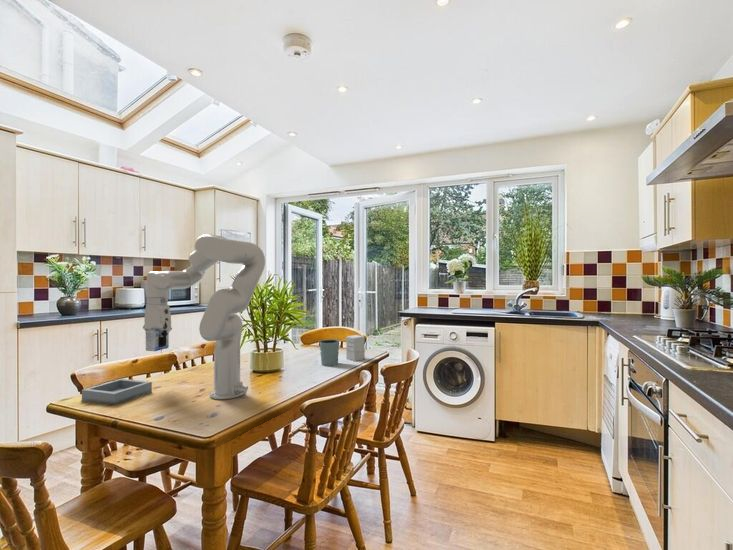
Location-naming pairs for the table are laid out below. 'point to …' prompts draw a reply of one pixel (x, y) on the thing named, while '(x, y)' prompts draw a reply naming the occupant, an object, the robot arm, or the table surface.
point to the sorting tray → (116, 391)
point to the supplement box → (355, 347)
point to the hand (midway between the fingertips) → (157, 345)
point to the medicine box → (154, 340)
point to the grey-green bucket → (329, 352)
